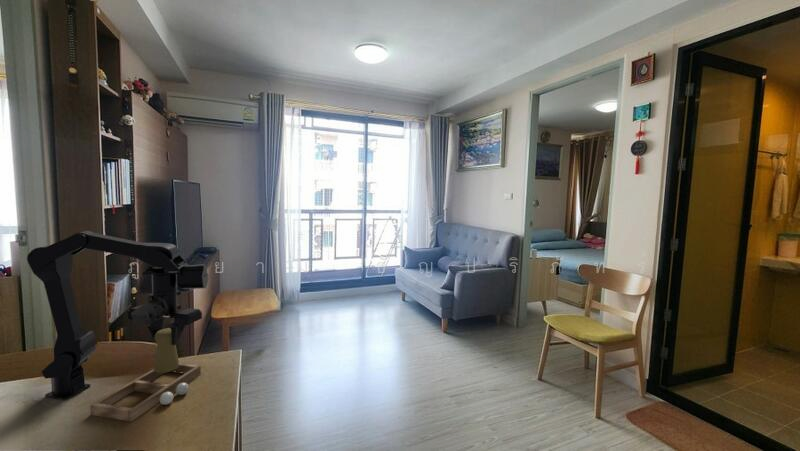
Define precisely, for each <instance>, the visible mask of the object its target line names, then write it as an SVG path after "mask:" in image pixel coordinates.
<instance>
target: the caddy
mask: <svg viewBox="0 0 800 451" xmlns="http://www.w3.org/2000/svg"><path fill="white" fill-rule="evenodd" d="M201 367H202V366H201V365H198V364H190V363H189V364H188V363H181V362H179V367H178V368H176V369H175V370H173V371H176V372H183V373H185V374H183V373H182V375H180V376H178V378H176V379H175V380H173V381H171V382H170V383H168V384H166V383H161V382H153V379H154V380H155V379H157V378H159V377H161V376H162V375H163V373H156V372H154V368H152V369H151V370H149V371H148V372H146V373H144V374H142V375H140V376H139V377H136V378H135V379H134V380H132V381H130V382H128V383H126V384H125V385H123V386H121V387H120V388H118V389H116V390H114V391H112V392H111V393H109V394H106V395H105V396H104V397H102V398H100V399H98V400H96V401H95V402H93V403H91V404H90V415H91V416H95V417H102V418H107V419H108V418H109V419H114V420H119V421H128V422H133V421H135V420H136V419H137V418H139V417H140V416H142V415H143V414H145V413H146V412H147V411H149V410H151V409H152V408H154V407H156V405H158V404H159V403H160V400H159V399H160V396H161V395H162V394H163V393H165V392H171V393H173V394H174V393H176V387H177V386H178V385H179V384H180V383H187V384H188V383H190V382H191V381H193V380H194V379H196V378H197V377H198V376H200V375H201V374H202V370H201V369H202V368H201ZM176 372H175V373H176ZM161 374H162V375H161ZM158 376H159V377H158ZM134 392H140V393H147V394H151V395H150V396H149V397H147V398H145V399H144V400H142V401H140V402H139V403H138V404H136V405H134V406H133V407H127V406H125V407H124V406H118V405H114V404H116V403H118V402H119V401H121V400H122V399H124V398H126V397H127V396H129V395H131V394H132V393H134Z"/></svg>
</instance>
